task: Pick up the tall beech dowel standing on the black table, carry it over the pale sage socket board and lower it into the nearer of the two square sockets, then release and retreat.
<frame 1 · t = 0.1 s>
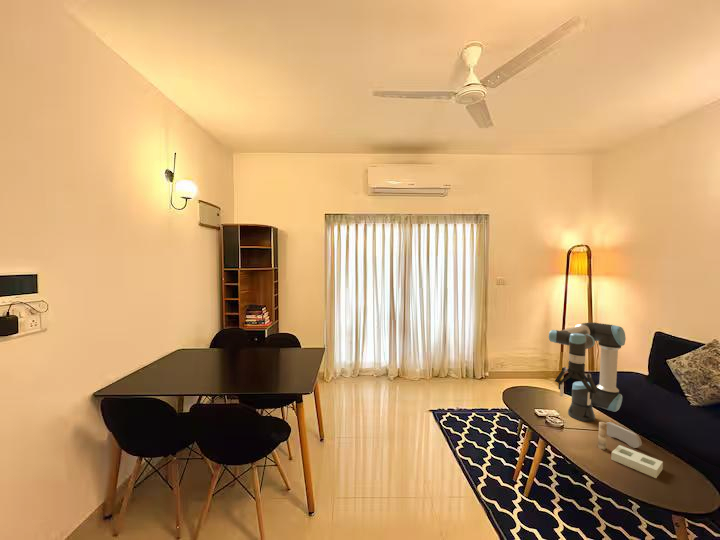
hand: (574, 400, 181), 28 cm above the table, fingers open, 13 cm apart
socket block: (636, 464, 169), on the table
peg: (601, 447, 184), on the table
grey flat oval slab: (621, 441, 192), on the table
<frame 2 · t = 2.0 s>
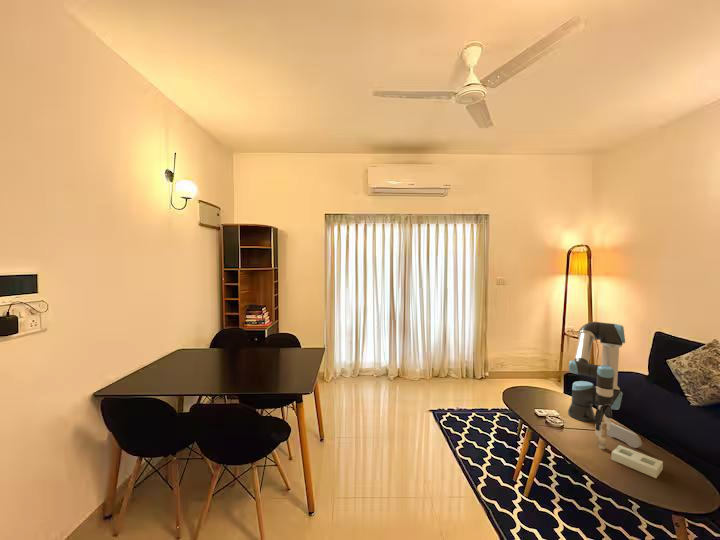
hand: (602, 432, 184), 9 cm above the table, fingers open, 13 cm apart
nothing on the table moved.
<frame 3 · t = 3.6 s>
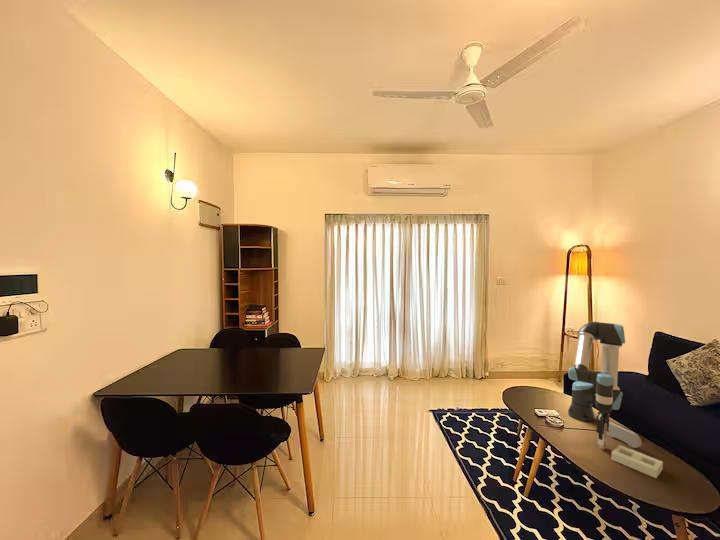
hand: (602, 443, 184), 3 cm above the table, fingers closed on peg, 3 cm apart
peg: (601, 447, 184), on the table, touching gripper
everything else where it was.
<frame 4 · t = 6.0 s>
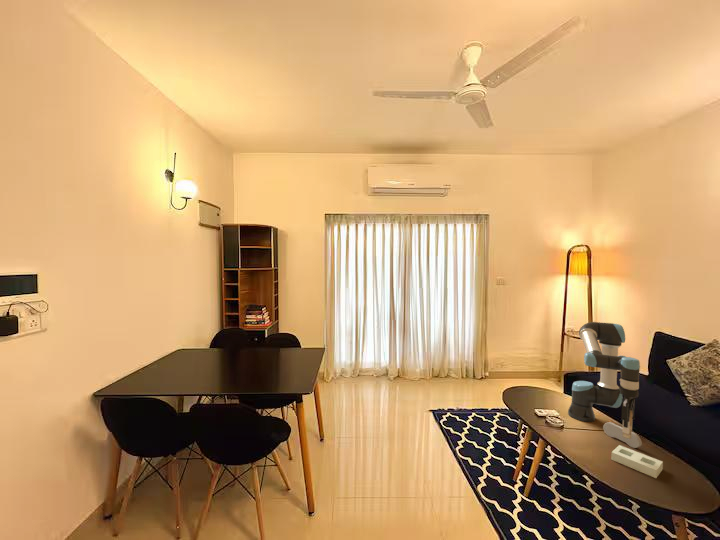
hand: (627, 431, 172), 15 cm above the table, fingers closed on peg, 3 cm apart
peg: (626, 436, 172), point 13 cm above the table, touching gripper
everything else where it was.
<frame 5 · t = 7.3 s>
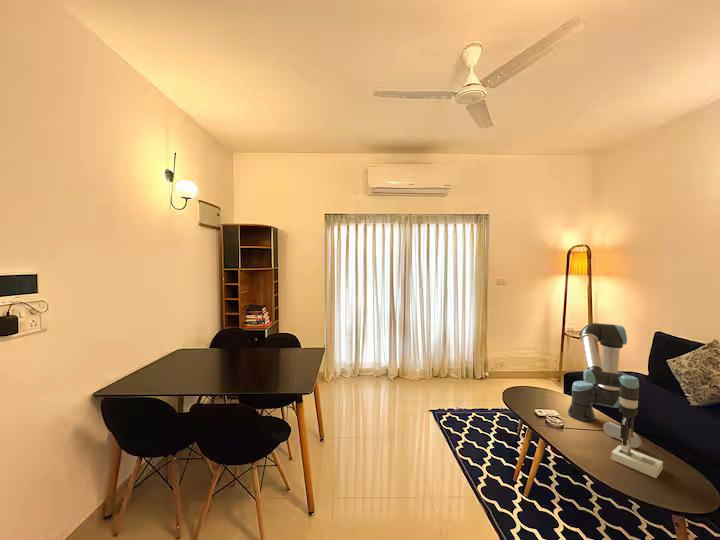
hand: (626, 449, 173), 6 cm above the table, fingers closed on peg, 3 cm apart
peg: (625, 454, 173), point 3 cm above the table, touching gripper
everything else where it was.
when the fingers open (5 cm above the table, at t = 8.3 s): peg drops 1 cm, resting in socket block.
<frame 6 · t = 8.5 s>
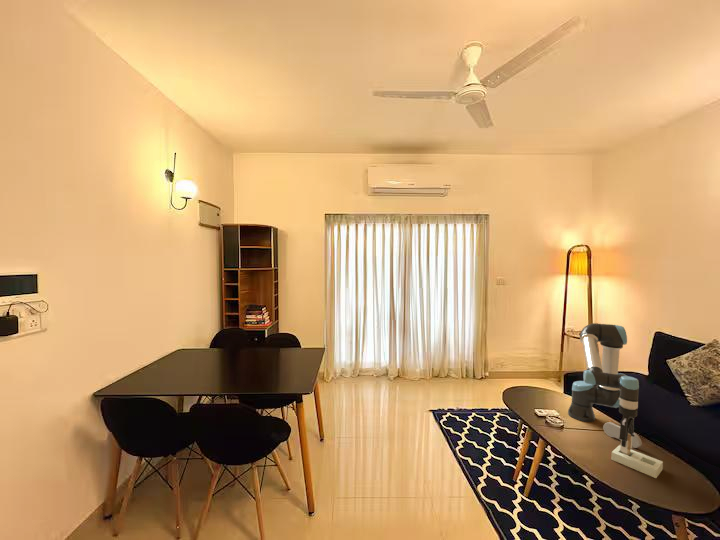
hand: (626, 449, 173), 5 cm above the table, fingers open, 7 cm apart
peg: (625, 459, 173), resting in socket block
everything else where it was.
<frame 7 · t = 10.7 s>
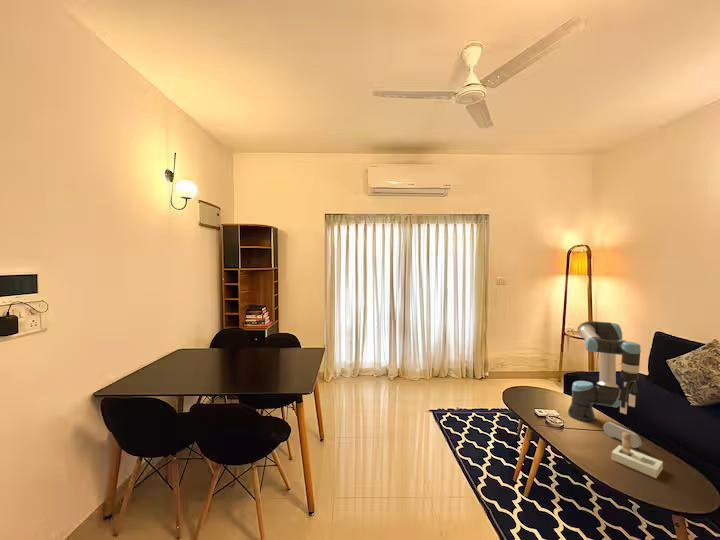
hand: (627, 409, 177), 25 cm above the table, fingers open, 13 cm apart
nothing on the table moved.
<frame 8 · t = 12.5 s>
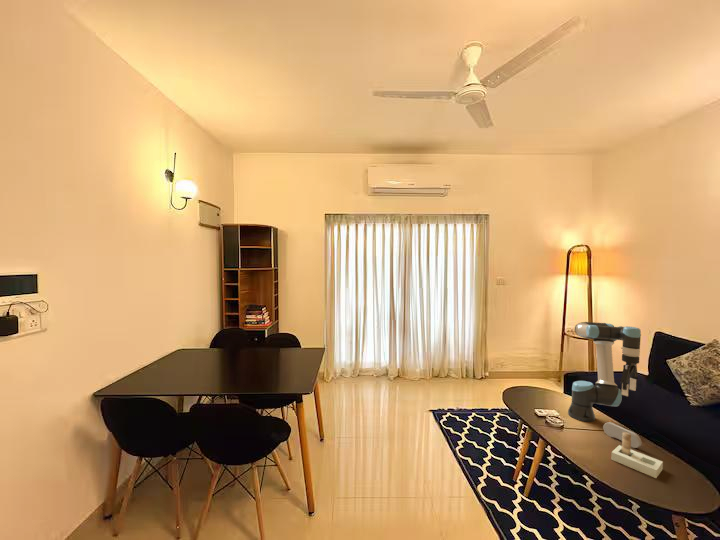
hand: (628, 392, 183), 32 cm above the table, fingers open, 13 cm apart
nothing on the table moved.
at the end: peg 0.1 cm from the target spot on the socket block, point 0.0 cm above the socket block's base; peg tilted 0°; the gripper is holding nothing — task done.
